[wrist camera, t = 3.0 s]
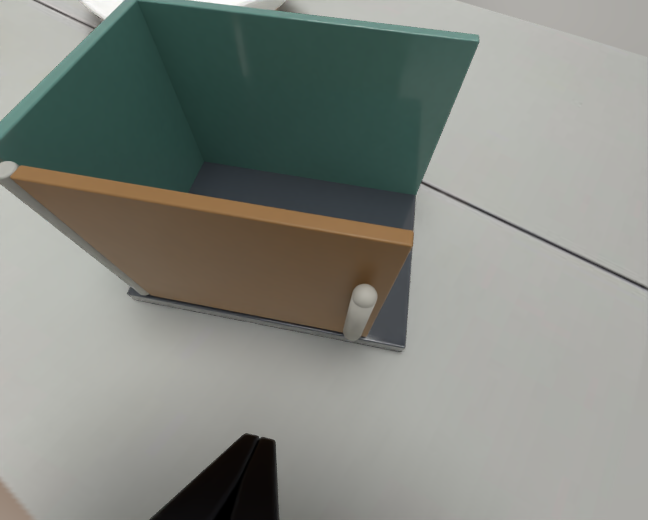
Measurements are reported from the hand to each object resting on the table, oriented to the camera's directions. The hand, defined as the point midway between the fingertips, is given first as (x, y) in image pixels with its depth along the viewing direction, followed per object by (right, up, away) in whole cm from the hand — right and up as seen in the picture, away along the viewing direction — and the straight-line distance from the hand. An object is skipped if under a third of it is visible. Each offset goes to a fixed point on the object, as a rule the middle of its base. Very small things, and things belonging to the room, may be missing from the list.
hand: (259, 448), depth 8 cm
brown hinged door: (-3, +2, +10) cm, 11 cm away
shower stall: (-1, +6, +14) cm, 15 cm away
